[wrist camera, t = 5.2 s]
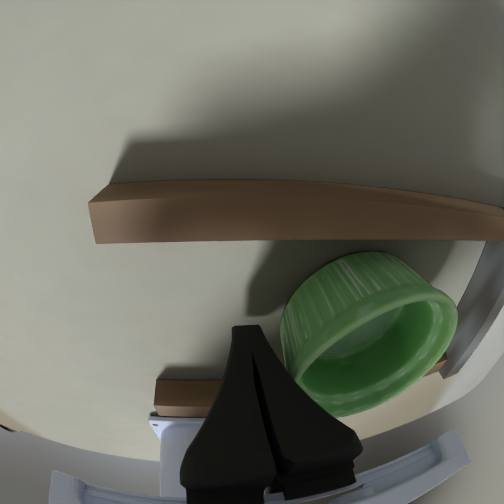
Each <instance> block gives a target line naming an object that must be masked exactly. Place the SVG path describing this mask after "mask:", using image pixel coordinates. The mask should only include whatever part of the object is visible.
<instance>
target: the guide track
mask: <svg viewBox="0 0 504 504" xmlns="http://www.w3.org/2000/svg"><path fill="white" fill-rule="evenodd" d="M88 206H89V212H90V217H91V222H92V227H93V232H94V237H95V241H96V244H108V243H143V242H186V241H244V240H477V241H487V243H486V245H485V248H484V250H483V253H482V255H481V258H480V260H479V263H478V265H477V267H476V270H475V272H474V274H473V276H472V278H471V281H470V283H469V285H468V287H467V289H466V291H465V293H464V295H463V297H462V299H461V301H460V303H459V305H458V307H457V312H458V322H457V327H456V331H455V334H454V336H453V338H452V340H451V342H450V344H449V346H448V348H447V349H446V351H445V352H444V354H443V355H442V357H441V358H440V359H439V360H438V361H437V363H436V364H435V365H434V366H433V367H432V368H431V369H430V370H429V371H428V372H427V373H426V374H425V375H424V376H427V375H430V374H432V373H435V372H437V371H439V373H440V374H441V376H442V378H443V379H446V378H448V377H450V376H452V375H454V374H456V373H458V372H459V370H460V369H461V368H462V367H463V365H464V364H465V363H466V361H467V360H468V359H469V357H470V356H471V355H472V353H473V352H474V351H475V349H476V348H477V346H478V345H479V344H480V342H481V341H482V339H483V338H484V336H485V335H486V333H487V332H488V330H489V329H490V327H491V325H492V324H493V322H494V321H495V319H496V317H497V316H498V314H499V312H500V310H501V309H502V307H503V305H504V208H502V207H497V206H493V205H488V204H483V203H478V202H473V201H468V200H463V199H457V198H452V197H446V196H440V195H434V194H427V193H420V192H413V191H406V190H398V189H390V188H381V187H371V186H361V185H350V184H338V183H324V182H308V181H288V180H254V179H203V180H170V181H150V182H134V183H120V184H108V185H107V186H106V187H105V188H104V189H103V190H101V191H100V192H99V193H98V194H97V195H96V196H95V197H94V198H93V199H92V200H91V201H89V202H88ZM424 376H423V377H424ZM221 382H222V380H156V388H155V398H154V407H155V409H156V411H157V413H158V415H159V416H181V417H207V415H208V413H209V411H210V409H211V407H212V405H213V402H214V400H215V398H216V396H217V393H218V391H219V388H220V385H221Z"/></svg>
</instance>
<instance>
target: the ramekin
mask: <svg viewBox="0 0 504 504" xmlns="http://www.w3.org/2000/svg"><path fill="white" fill-rule="evenodd" d="M457 322H458V312H457V308H456V305H455V303H454V302H453V300H452V299H451V298H450V297H449V296H448V295H446V294H445V293H444V292H442V291H441V290H438V289H436V288H434V287H432V286H431V285H430V284H429V283H427V282H426V281H425V280H424V279H423V278H422V277H421V276H420V275H419V274H417V273H416V272H415V271H414V270H413V269H412V268H410V267H409V266H408V265H407V264H405V263H404V262H403V261H402V260H400V259H399V258H397V257H395V256H393V255H391V254H388V253H383V252H375V251H374V252H360V253H355V254H350V255H347V256H344V257H341V258H339V259H337V260H335V261H333V262H330V263H328V264H327V265H326V266H324V267H322V268H321V269H319V270H318V271H317V272H315V273H314V274H313V275H311V276H310V277H309V278H308V279H307V280H306V281H304V283H303V284H302V285H301V286H300V287H299V288H298V289H297V290H296V291H295V293H294V294H293V295H292V297H291V298H290V300H289V302H288V304H287V306H286V307H285V309H284V312H283V315H282V319H281V324H280V337H281V344H282V350H283V356H284V362H285V368H286V370H287V371H288V373H289V374H290V375H291V377H292V378H293V379H294V380H295V381H296V383H297V384H298V385H299V386H300V387H301V388H302V389H303V390H304V391H305V392H306V393H307V394H308V395H309V396H310V397H311V398H312V399H313V400H314V401H315V402H316V403H317V404H319V405H320V406H321V407H322V408H323V409H324V410H326V411H327V412H328V413H329V414H331V415H332V416H333V417H335V418H338V417H344V416H349V415H353V414H356V413H360V412H363V411H365V410H368V409H371V408H373V407H375V406H378V405H380V404H382V403H384V402H386V401H388V400H390V399H392V398H394V397H395V396H397V395H399V394H400V393H402V392H403V391H405V390H406V389H408V388H409V387H411V386H412V385H413V384H414V383H416V382H417V381H418V380H419V379H420V378H422V377H423V376H424V375H425V374H426V373H427V372H428V371H429V370H430V369H431V368H432V367H433V366H434V365H435V364H436V363H437V361H438V360H439V359H440V358H441V357H442V355H443V354H444V352H445V351H446V349H447V348H448V346H449V344H450V342H451V340H452V338H453V336H454V334H455V331H456V327H457Z"/></svg>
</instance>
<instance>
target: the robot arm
mask: <svg viewBox="0 0 504 504" xmlns="http://www.w3.org/2000/svg"><path fill="white" fill-rule="evenodd" d="M148 422H149V424H150V425H151V427H152V428H153V430H154V431H155V433H156V435H157V436H158V437H159V439H160V440H161V447H160V496H155V495H147V494H139V493H133V492H127V491H121V490H116V489H111V488H106V487H102V486H97V485H94V484H89V483H86V482H84V481H82V480H81V479H79V478H76V477H73V476H71V475H67V474H64V473H61V472H58V471H56V470H52V476H51V484H50V492H49V503H48V504H296V503H301V502H306V501H311V500H315V499H319V498H323V497H327V496H331V495H334V494H338V493H341V492H345V491H347V490H351V489H354V488H357V487H359V488H358V489H357V490H356V491H353V492H351V493H348V494H345V495H342V496H339V497H338V498H336V499H333V500H331V501H328V502H326V504H407V503H409V502H411V501H413V500H415V499H416V498H418V497H420V496H421V495H423V494H425V493H426V492H428V491H429V490H431V489H433V488H434V487H435V486H437V485H439V484H440V483H442V482H443V481H445V480H446V479H447V478H449V477H450V476H452V475H453V474H455V473H456V472H458V471H459V470H460V469H462V468H463V467H464V466H466V465H467V464H468V463H470V461H471V460H470V458H469V456H468V454H467V451H466V449H465V447H464V445H463V443H462V441H461V439H460V437H459V435H458V433H457V431H456V429H455V428H452V429H451V430H449V431H447V432H445V433H444V434H442V435H440V436H439V437H437V438H435V439H434V440H433V441H432V442H431V443H430V444H428V445H426V446H424V447H422V448H420V449H418V450H416V451H414V452H411V453H409V454H407V455H405V456H403V457H401V458H398V459H396V460H394V461H391V462H389V463H386V464H384V465H381V466H379V467H376V468H373V469H371V470H368V471H365V472H362V473H359V474H356V475H354V472H353V468H354V463H353V459H355V458H356V457H357V456H358V455H360V453H361V452H362V451H363V447H362V444H361V442H360V440H359V438H358V436H357V434H356V433H355V431H354V430H352V429H351V428H349V427H348V426H346V425H345V424H343V423H342V422H340V421H339V420H337V419H336V418H335V417H333V416H332V415H331V414H329V413H328V412H327V411H326V410H324V409H323V408H322V407H321V406H320V405H319V404H317V403H316V402H315V401H314V400H313V399H312V398H311V397H310V396H309V395H308V394H307V393H306V392H305V391H304V390H303V389H302V388H301V387H300V386H299V385H298V384H297V383H296V381H295V380H294V379H293V378H292V377H291V375H290V374H289V373H288V371H287V370H286V369H285V368H284V366H283V365H282V363H281V362H280V360H279V359H278V357H277V356H276V354H275V353H274V351H273V350H272V348H271V346H270V345H269V343H268V341H267V339H266V337H265V336H264V334H263V331H262V329H261V327H260V326H259V325H244V326H234V327H232V343H231V349H230V354H229V358H228V363H227V367H226V370H225V373H224V376H223V380H222V382H221V385H220V388H219V391H218V393H217V396H216V398H215V400H214V402H213V405H212V407H211V409H210V411H209V413H208V415H207V417H206V418H174V417H154V416H151V417H149V418H148ZM264 490H265V494H266V495H263V494H264Z"/></svg>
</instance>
